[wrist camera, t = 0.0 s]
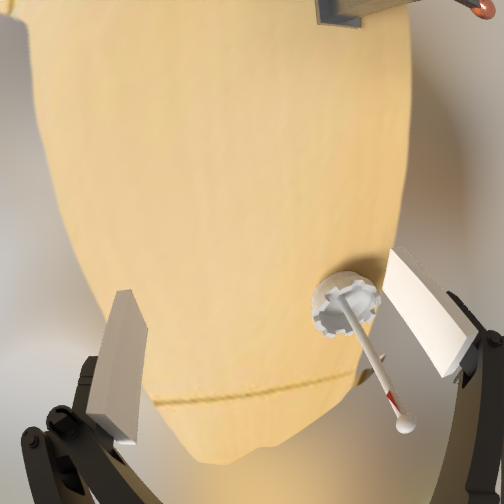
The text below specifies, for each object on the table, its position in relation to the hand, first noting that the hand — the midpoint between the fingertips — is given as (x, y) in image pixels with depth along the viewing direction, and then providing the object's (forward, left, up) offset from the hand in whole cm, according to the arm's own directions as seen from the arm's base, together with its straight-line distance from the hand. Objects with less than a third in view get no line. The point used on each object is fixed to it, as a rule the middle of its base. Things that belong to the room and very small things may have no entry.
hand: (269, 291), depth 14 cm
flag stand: (+28, +18, -28) cm, 43 cm away
